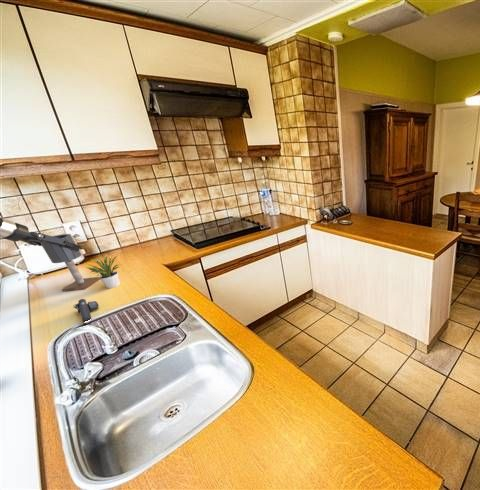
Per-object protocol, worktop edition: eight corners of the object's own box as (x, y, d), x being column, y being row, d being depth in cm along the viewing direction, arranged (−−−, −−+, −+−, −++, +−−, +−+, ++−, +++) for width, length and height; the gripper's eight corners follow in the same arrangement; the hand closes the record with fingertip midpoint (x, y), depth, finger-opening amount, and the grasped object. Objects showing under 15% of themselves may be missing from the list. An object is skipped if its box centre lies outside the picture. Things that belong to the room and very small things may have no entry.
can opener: (78, 310, 116) (71, 300, 114) (99, 303, 120) (93, 293, 118) (76, 329, 104) (69, 318, 102) (100, 321, 109) (93, 310, 106)
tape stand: (62, 291, 132) (47, 267, 126) (79, 281, 141) (66, 257, 135) (85, 289, 133) (71, 264, 127) (100, 279, 142) (88, 255, 136)
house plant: (127, 274, 145) (114, 247, 138) (138, 280, 138) (125, 252, 132) (93, 287, 134) (77, 258, 127) (103, 294, 127) (87, 264, 121)
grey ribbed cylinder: (46, 264, 125) (33, 243, 121) (64, 255, 134) (53, 235, 130) (69, 261, 126) (57, 240, 122) (86, 253, 136) (76, 233, 131)
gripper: (-19, 238, 111) (46, 255, 132) (26, 238, 108) (86, 255, 129) (-9, 222, 114) (53, 241, 134) (35, 221, 111) (92, 241, 131)
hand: (69, 248), depth 131 cm, fingers closed on grey ribbed cylinder, 10 cm apart
